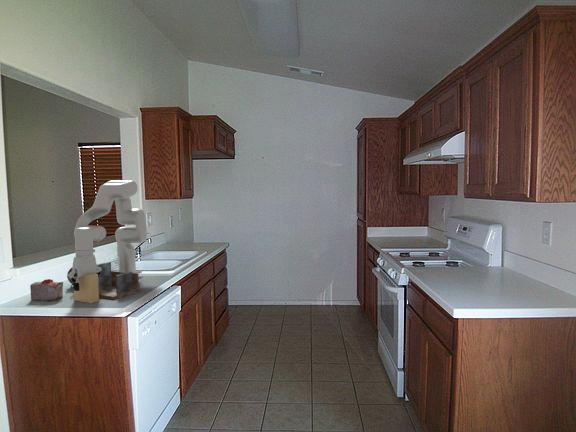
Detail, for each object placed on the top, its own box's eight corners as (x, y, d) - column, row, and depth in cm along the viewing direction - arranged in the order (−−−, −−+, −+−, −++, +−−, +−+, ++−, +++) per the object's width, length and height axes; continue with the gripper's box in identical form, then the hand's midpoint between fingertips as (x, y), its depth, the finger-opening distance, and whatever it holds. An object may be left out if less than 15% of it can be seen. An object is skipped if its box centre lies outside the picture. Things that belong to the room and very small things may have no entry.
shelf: (109, 287, 201) (108, 261, 200) (138, 291, 192) (138, 264, 191) (82, 294, 187) (81, 266, 186) (113, 299, 178) (112, 270, 177)
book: (82, 298, 181) (80, 272, 180) (98, 300, 176) (97, 274, 175) (74, 300, 177) (73, 273, 176) (91, 303, 172) (90, 276, 172)
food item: (66, 296, 184) (65, 277, 183) (56, 301, 176) (55, 281, 175) (38, 296, 183) (37, 277, 183) (28, 301, 175) (26, 281, 175)
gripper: (95, 250, 184) (96, 283, 186) (61, 255, 169) (63, 291, 170) (105, 251, 181) (106, 284, 183) (72, 256, 166) (74, 293, 167)
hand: (85, 288), depth 176 cm, fingers open, 9 cm apart
